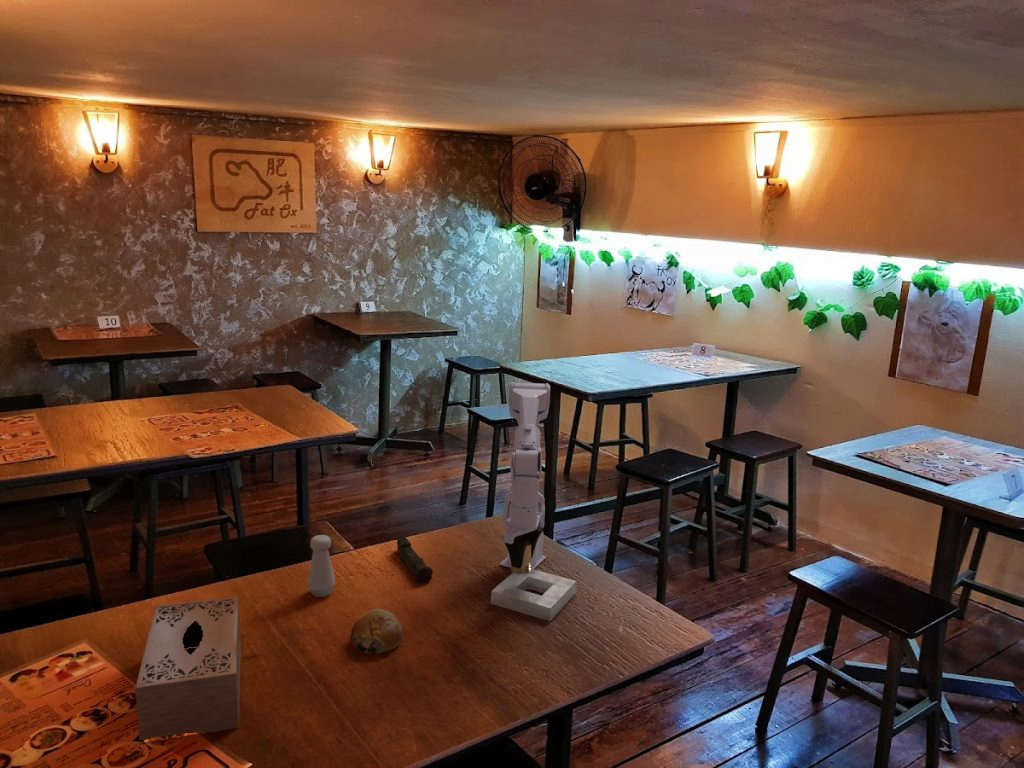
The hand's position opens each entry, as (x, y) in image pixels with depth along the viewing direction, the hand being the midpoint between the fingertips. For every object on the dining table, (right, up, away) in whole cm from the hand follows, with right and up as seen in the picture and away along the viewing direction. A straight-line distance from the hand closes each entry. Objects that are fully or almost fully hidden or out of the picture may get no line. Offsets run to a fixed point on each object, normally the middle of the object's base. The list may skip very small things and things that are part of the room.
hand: (521, 562), depth 164 cm
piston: (0, -2, 0) cm, 2 cm away
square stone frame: (+3, -8, +2) cm, 9 cm away
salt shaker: (-44, -7, +1) cm, 44 cm away
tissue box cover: (-57, -14, -33) cm, 68 cm away
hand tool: (-27, -5, +15) cm, 31 cm away
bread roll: (-29, -12, -17) cm, 35 cm away
